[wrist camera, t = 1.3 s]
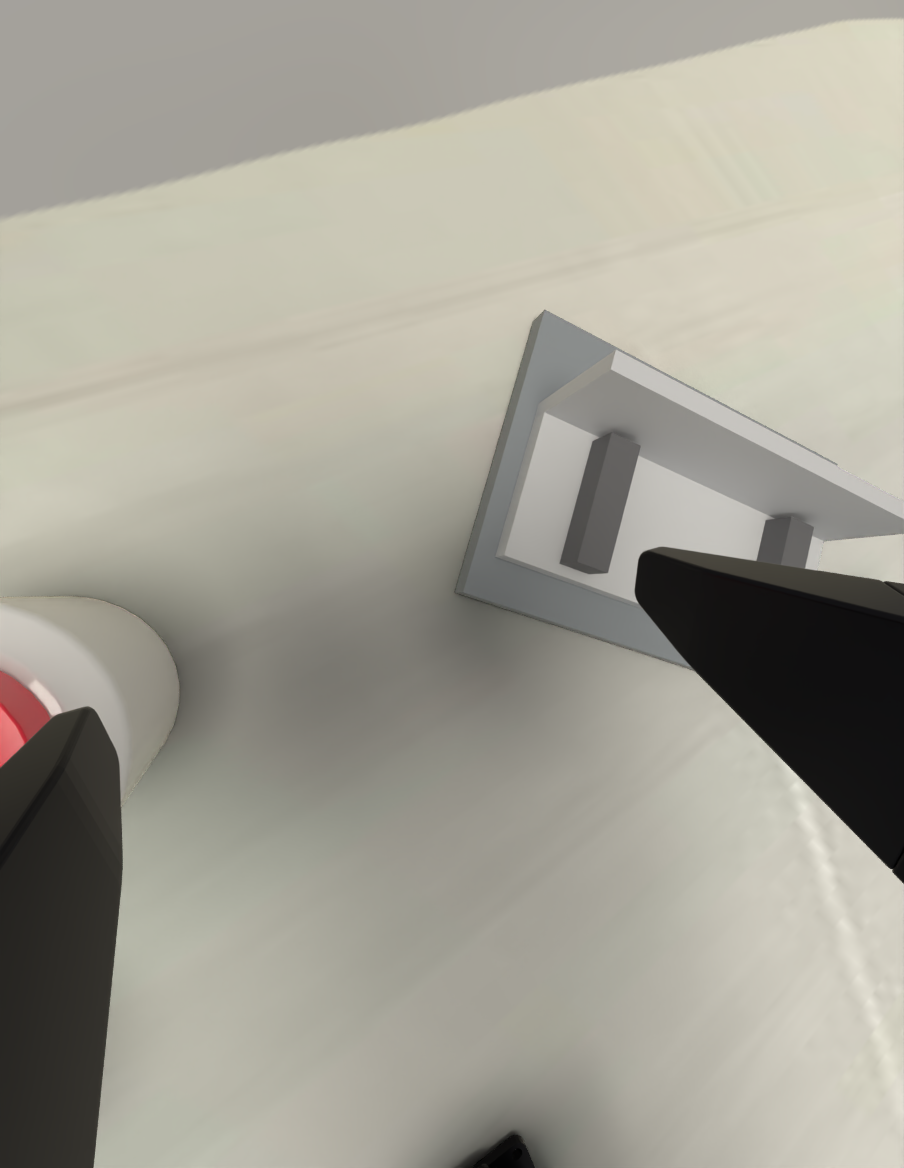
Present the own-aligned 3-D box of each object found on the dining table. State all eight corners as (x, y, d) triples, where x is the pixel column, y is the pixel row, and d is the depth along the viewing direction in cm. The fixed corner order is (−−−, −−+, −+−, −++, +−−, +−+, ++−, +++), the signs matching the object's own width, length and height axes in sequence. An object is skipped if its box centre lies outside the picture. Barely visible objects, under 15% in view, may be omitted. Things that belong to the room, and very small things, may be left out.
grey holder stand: (768, 694, 32) (906, 722, 25) (454, 592, 26) (523, 591, 19) (817, 468, 33) (960, 436, 26) (533, 321, 27) (623, 230, 20)
